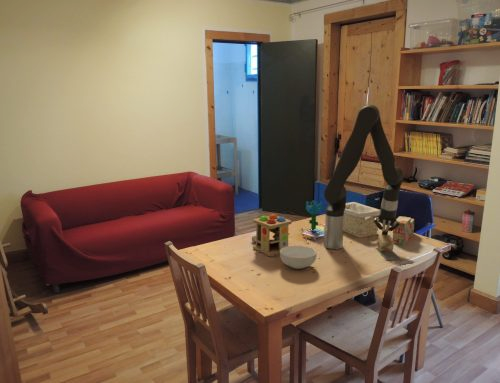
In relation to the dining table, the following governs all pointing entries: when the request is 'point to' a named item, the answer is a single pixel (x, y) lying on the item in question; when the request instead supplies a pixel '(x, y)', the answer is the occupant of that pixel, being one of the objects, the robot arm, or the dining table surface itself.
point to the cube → (385, 243)
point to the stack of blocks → (403, 230)
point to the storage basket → (360, 219)
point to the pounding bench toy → (263, 233)
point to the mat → (389, 256)
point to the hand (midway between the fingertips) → (384, 236)
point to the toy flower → (313, 212)
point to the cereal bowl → (298, 256)
